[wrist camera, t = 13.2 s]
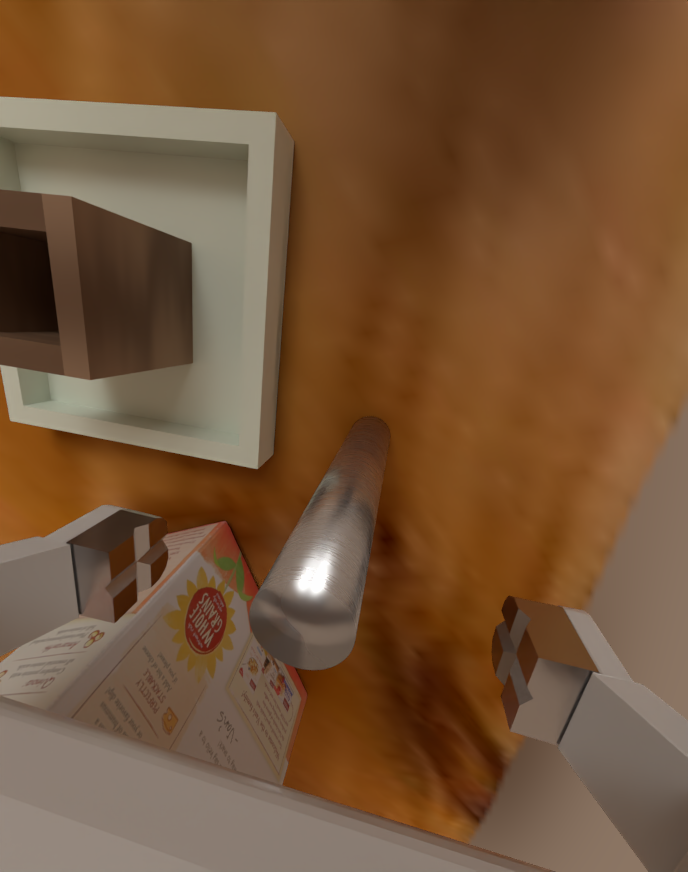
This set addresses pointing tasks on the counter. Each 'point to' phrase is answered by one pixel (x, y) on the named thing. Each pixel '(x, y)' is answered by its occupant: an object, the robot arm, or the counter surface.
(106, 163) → the sage dish
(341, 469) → the rod
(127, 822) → the robot arm
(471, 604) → the counter surface
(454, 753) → the counter surface
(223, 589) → the cracker box
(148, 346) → the walnut block
